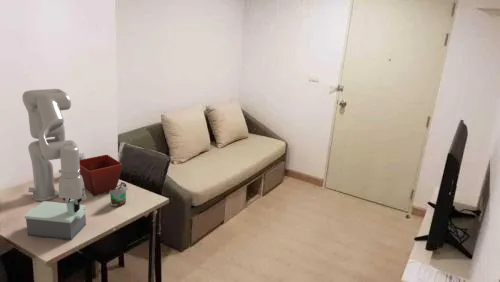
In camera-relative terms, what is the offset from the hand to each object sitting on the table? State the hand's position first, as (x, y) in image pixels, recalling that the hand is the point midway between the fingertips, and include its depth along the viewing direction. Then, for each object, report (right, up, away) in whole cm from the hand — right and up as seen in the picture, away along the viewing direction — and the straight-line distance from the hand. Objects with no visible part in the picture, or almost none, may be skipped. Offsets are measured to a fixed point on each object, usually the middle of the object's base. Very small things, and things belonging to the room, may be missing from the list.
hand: (73, 210), depth 179 cm
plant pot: (-6, +3, +47) cm, 47 cm away
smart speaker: (-25, +10, +63) cm, 68 cm away
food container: (+11, -2, +33) cm, 34 cm away
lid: (-7, -2, +1) cm, 8 cm away
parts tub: (-9, -10, +4) cm, 14 cm away
